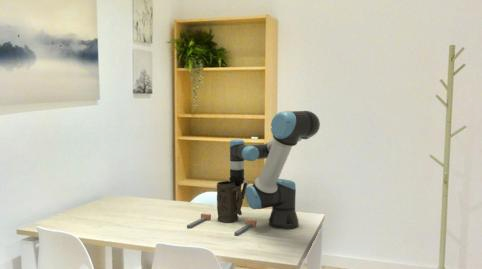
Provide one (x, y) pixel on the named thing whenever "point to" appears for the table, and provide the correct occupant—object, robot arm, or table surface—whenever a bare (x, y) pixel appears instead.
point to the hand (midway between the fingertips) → (236, 212)
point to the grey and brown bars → (208, 217)
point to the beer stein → (228, 201)
